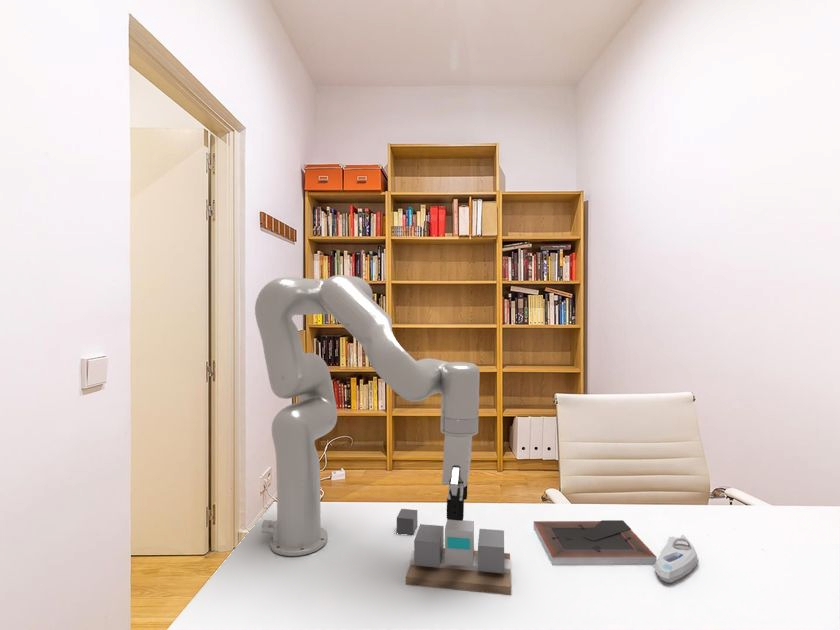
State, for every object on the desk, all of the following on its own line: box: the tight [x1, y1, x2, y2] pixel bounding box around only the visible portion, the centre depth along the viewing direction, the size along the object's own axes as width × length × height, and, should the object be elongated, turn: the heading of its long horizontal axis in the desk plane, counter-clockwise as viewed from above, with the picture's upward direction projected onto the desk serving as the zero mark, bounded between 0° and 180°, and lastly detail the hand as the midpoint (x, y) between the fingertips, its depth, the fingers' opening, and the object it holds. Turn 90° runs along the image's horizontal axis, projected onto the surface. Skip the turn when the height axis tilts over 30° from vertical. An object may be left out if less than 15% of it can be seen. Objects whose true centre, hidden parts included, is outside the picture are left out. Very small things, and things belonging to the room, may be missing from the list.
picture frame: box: [533, 519, 658, 566], centre depth 108 cm, size 16×2×22 cm
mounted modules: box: [413, 523, 505, 573], centre depth 97 cm, size 18×7×5 cm, turn 80°
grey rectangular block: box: [396, 508, 418, 536], centre depth 115 cm, size 4×5×4 cm
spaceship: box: [653, 534, 698, 583], centre depth 101 cm, size 23×7×4 cm, turn 143°
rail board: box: [405, 547, 512, 596], centre depth 97 cm, size 20×12×2 cm, turn 80°
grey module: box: [444, 518, 475, 567], centre depth 97 cm, size 6×5×7 cm
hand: (457, 508), depth 97 cm, fingers open, 9 cm apart
